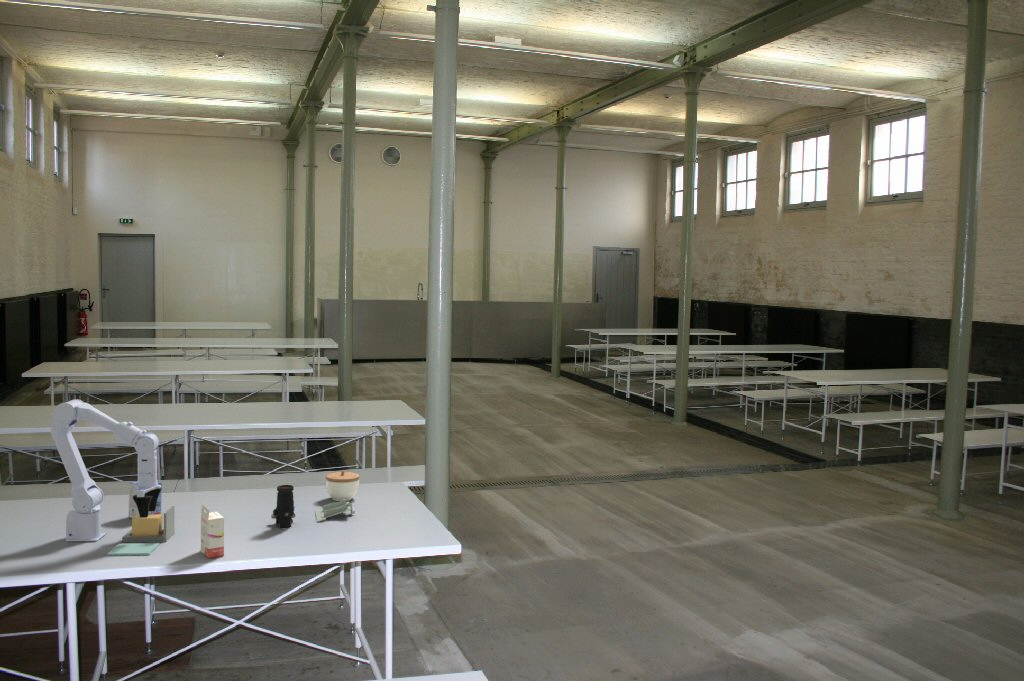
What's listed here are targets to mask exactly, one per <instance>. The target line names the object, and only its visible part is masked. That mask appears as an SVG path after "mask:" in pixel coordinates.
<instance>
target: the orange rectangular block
mask: <svg viewBox="0 0 1024 681" xmlns="http://www.w3.org/2000/svg"><path fill="white" fill-rule="evenodd" d="M131 529H132V536H160V535H161V534H162V533H163V529H164V513H161V514H154V515H148V517H147V518H140V515H136V516H134V517H133V518H131Z"/></svg>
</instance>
